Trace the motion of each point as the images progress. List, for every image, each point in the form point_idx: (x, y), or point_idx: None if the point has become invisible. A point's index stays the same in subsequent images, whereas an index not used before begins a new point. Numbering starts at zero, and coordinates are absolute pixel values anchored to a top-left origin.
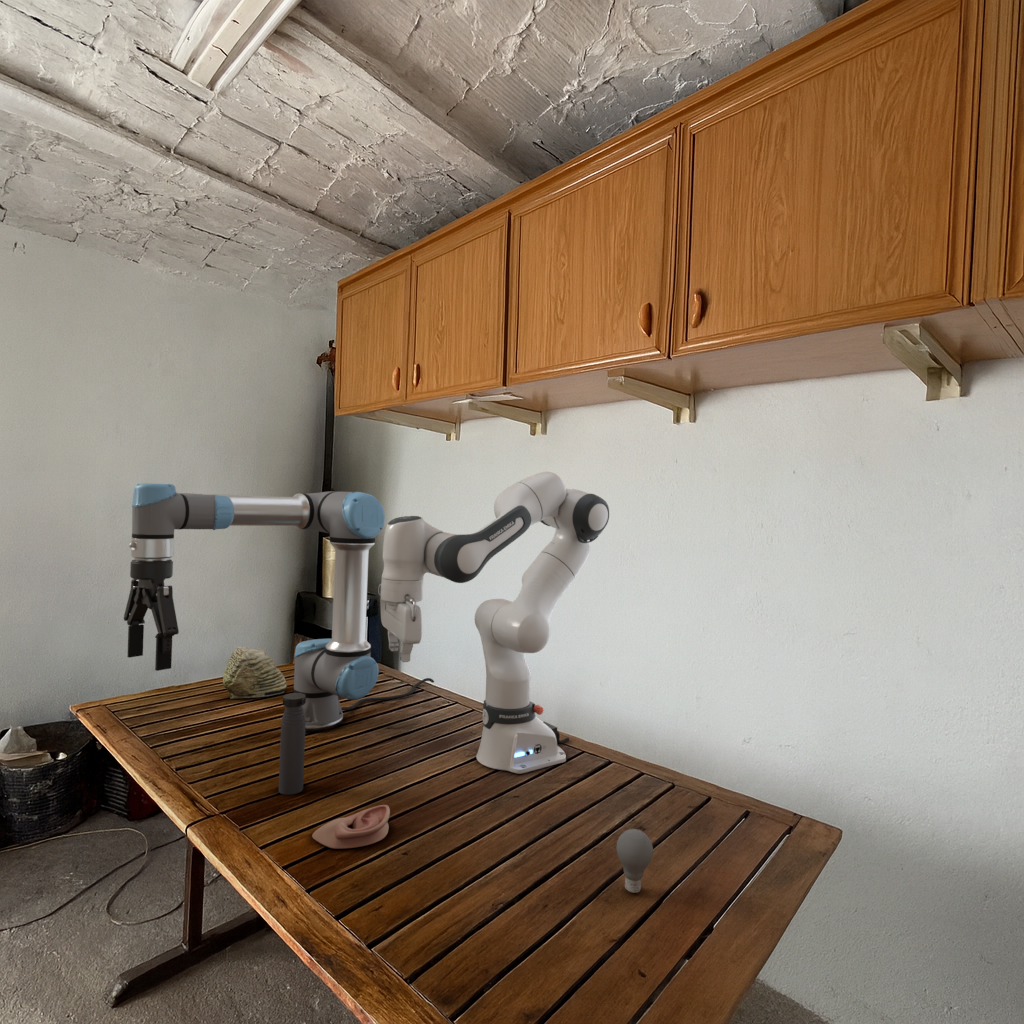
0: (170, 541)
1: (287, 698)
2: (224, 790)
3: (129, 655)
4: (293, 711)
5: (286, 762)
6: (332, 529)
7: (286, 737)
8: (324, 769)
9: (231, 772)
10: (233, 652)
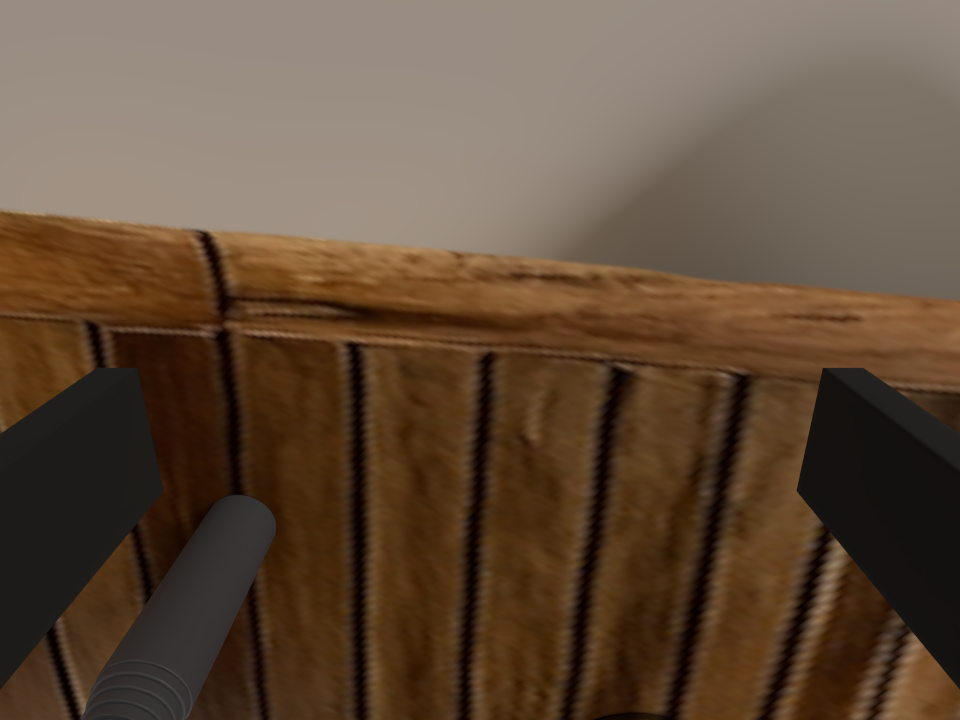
0: None
1: None
2: (363, 402)
3: (834, 382)
4: None
5: (178, 562)
6: None
7: (137, 625)
8: (304, 636)
9: (470, 470)
10: None
